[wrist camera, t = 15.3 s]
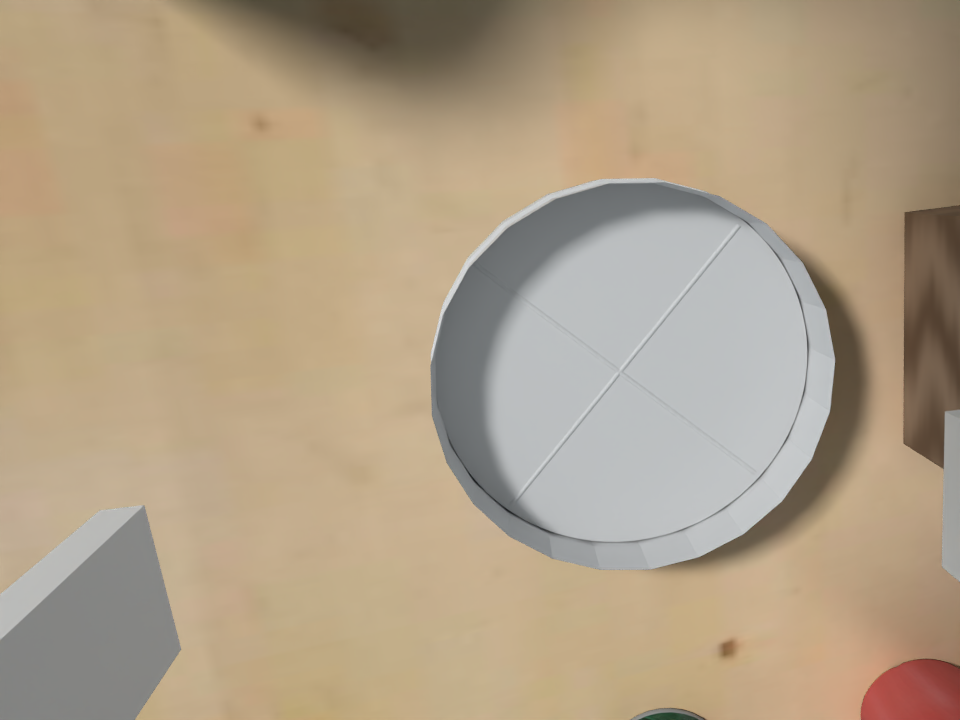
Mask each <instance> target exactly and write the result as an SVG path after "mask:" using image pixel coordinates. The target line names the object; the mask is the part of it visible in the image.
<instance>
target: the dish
mask: <svg viewBox="0 0 960 720" xmlns="http://www.w3.org/2000/svg"><path fill="white" fill-rule="evenodd" d="M834 368H835V356H834V351H833V345H832V340H831V334H830V329H829V323H828V318H827V312H826V309H825V307H824V305H823V303H822V301H821V299H820V297H819V295H818V293H817V290H816V288H815V286H814V284H813V282H812V280H811V278H810V276H809V274H808V272H807V270H806V268H805V266H804V264H803V263H802V262H801V260H800V259H799V258H798V257H797V256H796V255H795V254H794V253H793V252H792V251H791V250H790V249H789V247H788V246H787V245H786V244H785V243H784V242H783V241H782V240H781V239H780V238H779V237H778V236H777V234H776V233H775V232H774V231H773V230H772V229H771V228H770V227H769V226H768V225H767V224H766V223H764V222H763V221H761V220H759V219H758V218H756V217H754V216H752V215H751V214H749V213H747V212H746V211H744V210H742V209H741V208H739V207H737V206H735V205H734V204H732V203H730V202H729V201H727V200H725V199H723V198H722V197H720V196H716V195H713V194H709V193H708V192H706V191H702V190H698V189H694V188H690V187H686V186H683V185H679V184H675V183H671V182H667V181H663V180H660V179H656V178H643V179H600V180H594V181H591V182H588V183H584V184H581V185H577V186H574V187H570V188H567V189H564V190H560V191H557V192H553V193H550V194H547V195H545V196H543V197H542V198H540V199H538V200H537V201H535V202H533V203H532V204H530V205H528V206H527V207H525V208H523V209H522V210H520V211H519V212H517V213H515V214H514V215H512V216H510V217H509V218H507V219H505V220H504V221H502V222H501V223H500V224H499V226H498V227H497V228H496V229H495V230H494V231H493V232H492V233H491V234H490V235H489V236H488V237H487V238H486V239H485V240H484V241H483V242H482V243H481V244H480V245H479V246H478V247H477V248H476V249H475V250H474V251H473V252H472V253H471V254H470V256H469V257H468V258H467V260H466V262H465V264H464V265H463V267H462V269H461V271H460V273H459V275H458V276H457V278H456V280H455V282H454V284H453V286H452V288H451V289H450V291H449V293H448V295H447V297H446V299H445V301H444V303H443V306H442V310H441V314H440V318H439V322H438V326H437V331H436V335H435V339H434V343H433V347H432V351H431V397H432V417H433V421H434V424H435V427H436V430H437V433H438V436H439V439H440V443H441V446H442V449H443V452H444V455H445V458H446V461H447V464H448V465H449V467H450V468H451V470H452V472H453V473H454V475H455V476H456V478H457V479H458V481H459V482H460V484H461V485H462V487H463V489H464V490H465V492H466V493H467V495H468V496H469V498H470V499H471V501H472V502H473V504H474V505H475V506H476V507H477V508H479V509H480V510H481V511H482V512H483V513H484V514H485V515H486V516H487V517H488V518H490V519H491V520H492V521H493V522H494V523H495V524H496V525H497V526H498V527H499V528H501V529H502V530H503V531H504V532H505V533H506V534H507V535H508V536H510V537H511V538H513V539H515V540H517V541H519V542H521V543H523V544H525V545H527V546H529V547H531V548H533V549H535V550H537V551H539V552H541V553H543V554H545V555H547V556H548V557H550V558H552V559H556V560H561V561H565V562H569V563H574V564H578V565H582V566H586V567H591V568H595V569H599V570H650V569H654V568H658V567H662V566H666V565H670V564H674V563H678V562H682V561H686V560H690V559H694V558H698V557H700V556H702V555H704V554H706V553H708V552H710V551H712V550H714V549H716V548H718V547H720V546H722V545H723V544H725V543H727V542H729V541H731V540H733V539H735V538H737V537H739V536H741V535H743V534H744V533H746V532H747V531H748V530H749V529H750V528H751V527H753V526H754V525H755V524H756V523H757V522H758V521H760V520H761V519H762V518H763V517H764V516H765V515H767V514H768V513H769V512H770V511H771V510H772V509H774V508H775V507H776V506H777V505H778V504H779V503H781V502H782V501H783V499H784V498H785V497H786V495H787V494H788V492H789V491H790V489H791V488H792V487H793V485H794V484H795V482H796V481H797V479H798V478H799V477H800V475H801V474H802V472H803V471H804V469H805V468H806V467H807V465H808V464H809V462H810V461H811V460H812V457H813V455H814V452H815V449H816V447H817V444H818V442H819V439H820V436H821V434H822V431H823V428H824V426H825V423H826V420H827V418H828V415H829V413H830V407H831V397H832V387H833V377H834ZM436 396H437V397H436Z"/></svg>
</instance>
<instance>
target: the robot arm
mask: <svg viewBox="0 0 960 720" xmlns="http://www.w3.org/2000/svg"><path fill="white" fill-rule="evenodd" d="M942 567H943V568H944V569H945V570H946V571H947V572H949V573H950V574H951V575H952V576H953V577H954V578H956V579H957V580H958V581H959V582H960V410H953V411H945V433H944V485H943V537H942ZM180 650H181V647H180V643H179V639H178V635H177V631H176V627H175V623H174V619H173V616H172V612H171V608H170V604H169V600H168V596H167V592H166V588H165V584H164V580H163V577H162V573H161V569H160V565H159V561H158V557H157V553H156V549H155V545H154V541H153V538H152V534H151V530H150V526H149V522H148V518H147V514H146V510H145V506H144V505H142V506H134V507H125V508H116V509H108V510H100V511H99V512H97V513H96V514H95V515H94V516H93V517H91V518H90V519H89V520H88V521H87V522H85V523H84V524H83V525H82V526H81V527H80V528H78V529H77V530H76V531H75V532H74V533H72V534H71V535H70V536H69V537H68V538H66V539H65V540H64V541H63V542H62V543H61V544H59V545H58V546H57V547H56V548H55V549H53V550H52V551H51V552H50V553H49V554H48V555H46V556H45V557H44V558H43V559H42V560H40V561H39V562H38V563H37V564H36V565H34V566H33V567H32V568H31V569H30V570H29V571H27V572H26V573H25V574H24V575H23V576H21V577H20V578H19V579H18V580H17V581H15V582H14V583H13V584H12V585H11V586H10V587H8V588H7V589H6V590H5V591H4V592H2V593H1V594H0V720H135V718H136V717H137V715H138V714H139V712H140V711H141V709H142V708H143V706H144V705H145V703H146V702H147V700H148V699H149V697H150V696H151V694H152V693H153V691H154V690H155V688H156V687H157V685H158V684H159V682H160V681H161V679H162V678H163V676H164V675H165V673H166V671H167V670H168V668H169V667H170V665H171V664H172V662H173V661H174V659H175V658H176V656H177V655H178V653H179V652H180Z"/></svg>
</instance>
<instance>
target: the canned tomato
mask: <svg viewBox="0 0 960 720" xmlns="http://www.w3.org/2000/svg"><path fill="white" fill-rule="evenodd" d="M631 720H704V719H703V718H701V717H700V716H698V715H696V714H694V713H691V712H688V711H685V710H681V709H673V708H664V709H656V710H651V711H647V712H645V713H642V714H640V715H637V716H636V717H634V718H633V719H631Z"/></svg>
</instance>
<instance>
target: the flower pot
mask: <svg viewBox="0 0 960 720" xmlns="http://www.w3.org/2000/svg"><path fill="white" fill-rule="evenodd" d="M861 720H960V669H959V668H957V667H955V666H954V665H951V664H949V663H946V662H943V661H939V660H931V659H919V660H913V661H908V662H905V663H902V664H901V665H899V666H898V667H895V668H892V669H890V670H888V671H886V672H885V673H883V674H882V675H881V676H879V677H878V678H877V679H876V680H875V681H874V682H873V684H872V685H871V686H870V688H869V689H868V691H867V692H866V694H865V697H864V699H863V703H862V707H861Z"/></svg>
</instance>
